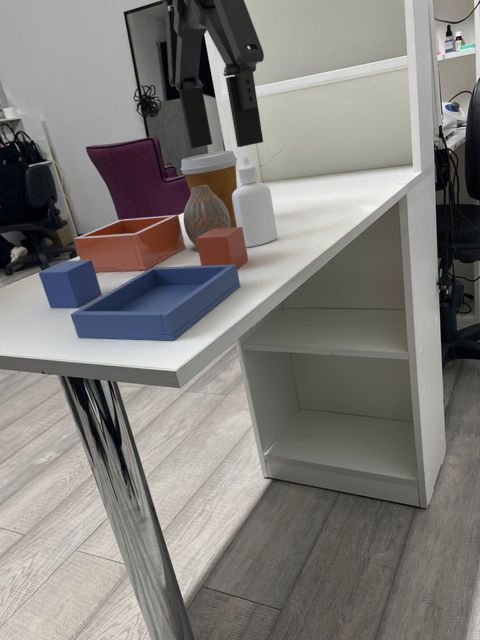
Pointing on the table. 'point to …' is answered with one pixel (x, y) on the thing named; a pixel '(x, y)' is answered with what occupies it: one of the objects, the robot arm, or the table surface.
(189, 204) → the vase
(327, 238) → the table surface
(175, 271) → the blue tray
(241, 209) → the eye dropper bottle
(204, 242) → the rust block
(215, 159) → the disposable coffee cup
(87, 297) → the blue block
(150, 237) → the terracotta bin
